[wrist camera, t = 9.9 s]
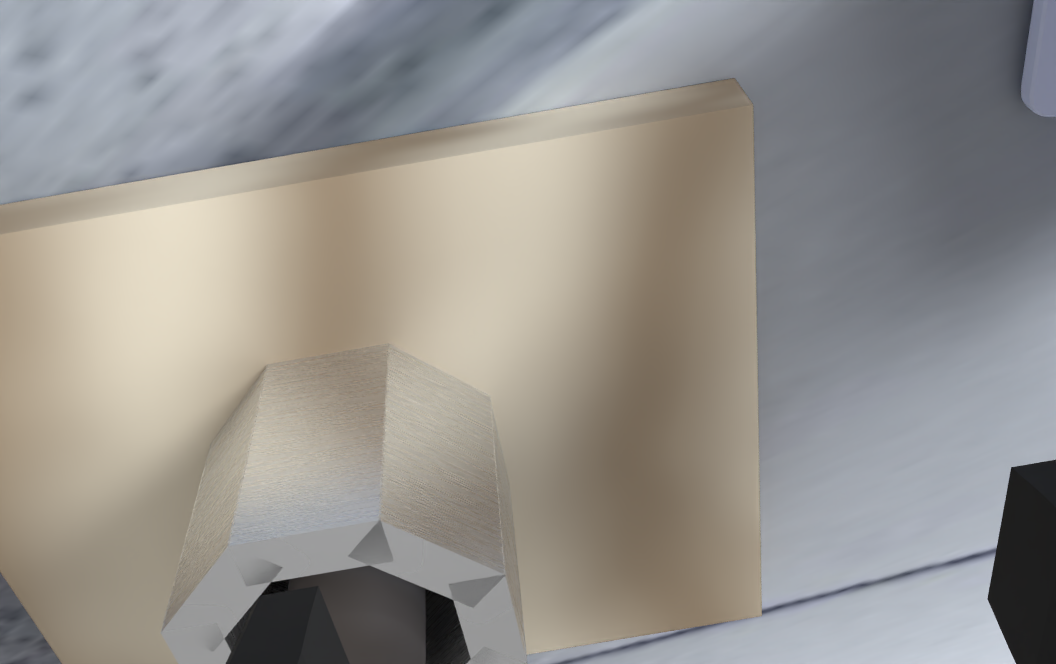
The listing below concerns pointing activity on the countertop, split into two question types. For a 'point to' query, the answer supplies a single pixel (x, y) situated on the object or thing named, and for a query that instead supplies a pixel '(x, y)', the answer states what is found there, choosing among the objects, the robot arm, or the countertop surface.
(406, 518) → the steel ring
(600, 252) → the post board
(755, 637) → the countertop surface
